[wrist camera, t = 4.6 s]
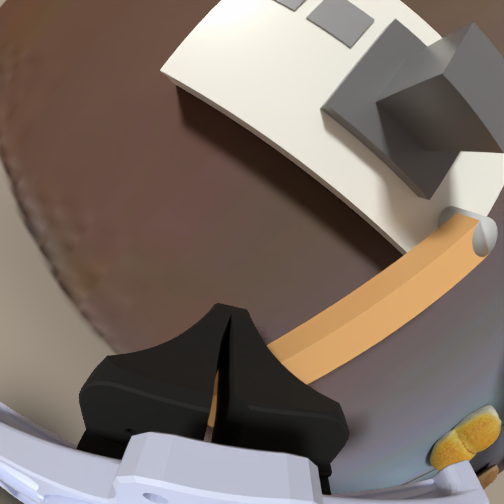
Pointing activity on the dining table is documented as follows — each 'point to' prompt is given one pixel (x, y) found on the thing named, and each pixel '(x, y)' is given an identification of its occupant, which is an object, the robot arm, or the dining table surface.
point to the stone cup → (488, 476)
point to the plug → (424, 102)
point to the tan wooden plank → (385, 299)
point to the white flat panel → (321, 103)
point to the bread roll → (467, 438)
